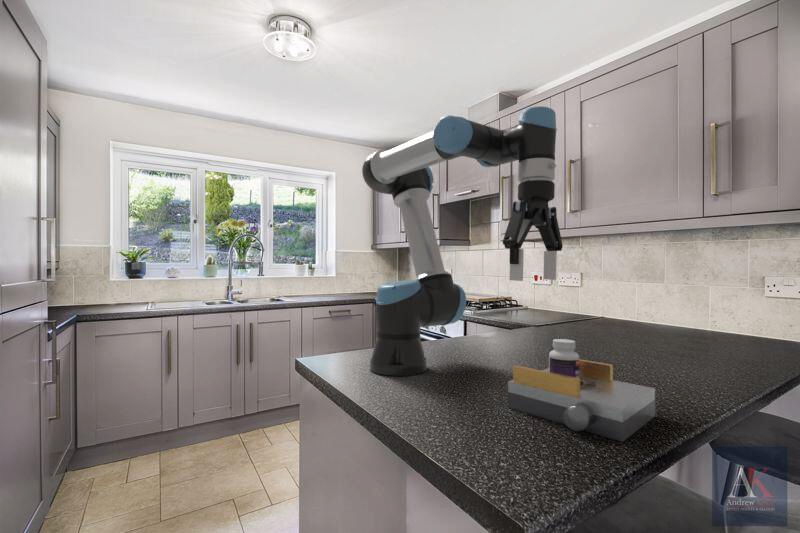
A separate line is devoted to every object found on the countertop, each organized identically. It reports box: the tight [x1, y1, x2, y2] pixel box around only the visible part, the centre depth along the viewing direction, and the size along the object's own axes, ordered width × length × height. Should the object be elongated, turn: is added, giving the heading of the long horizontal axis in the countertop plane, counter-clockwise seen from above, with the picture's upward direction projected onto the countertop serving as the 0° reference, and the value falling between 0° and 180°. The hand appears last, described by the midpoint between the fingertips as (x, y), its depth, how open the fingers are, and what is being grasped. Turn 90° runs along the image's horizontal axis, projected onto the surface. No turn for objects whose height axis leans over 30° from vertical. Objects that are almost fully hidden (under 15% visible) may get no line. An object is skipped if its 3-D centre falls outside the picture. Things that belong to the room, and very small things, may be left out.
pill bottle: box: [548, 338, 580, 378], centre depth 75 cm, size 5×5×10 cm
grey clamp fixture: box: [507, 358, 656, 443], centre depth 71 cm, size 20×19×8 cm
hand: (533, 280), depth 85 cm, fingers open, 13 cm apart
